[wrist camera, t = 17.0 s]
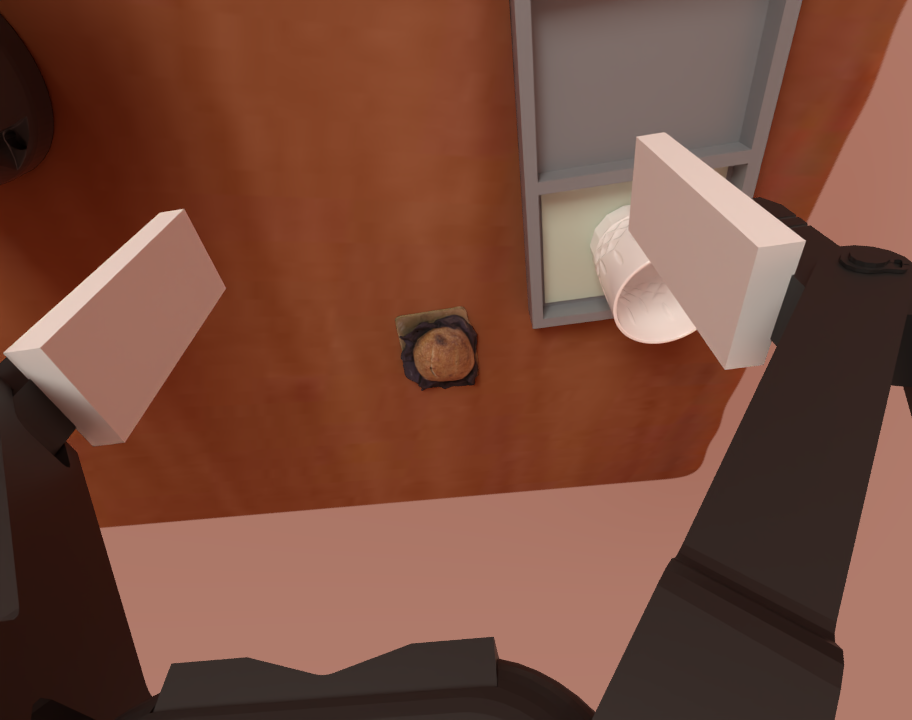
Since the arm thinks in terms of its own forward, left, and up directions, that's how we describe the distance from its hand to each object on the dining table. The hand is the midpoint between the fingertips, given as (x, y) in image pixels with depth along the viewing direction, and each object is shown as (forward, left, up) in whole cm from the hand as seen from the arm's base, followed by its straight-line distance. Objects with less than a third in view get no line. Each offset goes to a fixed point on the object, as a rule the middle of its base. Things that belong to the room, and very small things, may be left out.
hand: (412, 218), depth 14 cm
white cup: (+15, -15, -26) cm, 34 cm away
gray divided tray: (+15, -9, -27) cm, 32 cm away
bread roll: (-4, -26, -27) cm, 38 cm away
